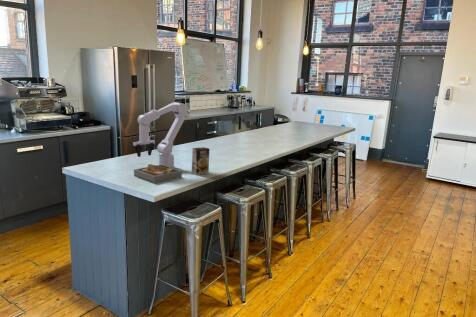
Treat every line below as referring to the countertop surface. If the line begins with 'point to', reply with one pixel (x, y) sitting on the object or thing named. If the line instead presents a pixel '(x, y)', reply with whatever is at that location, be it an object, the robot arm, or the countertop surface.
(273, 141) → the countertop surface
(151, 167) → the pine crate
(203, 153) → the coffee box
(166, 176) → the charcoal crate
